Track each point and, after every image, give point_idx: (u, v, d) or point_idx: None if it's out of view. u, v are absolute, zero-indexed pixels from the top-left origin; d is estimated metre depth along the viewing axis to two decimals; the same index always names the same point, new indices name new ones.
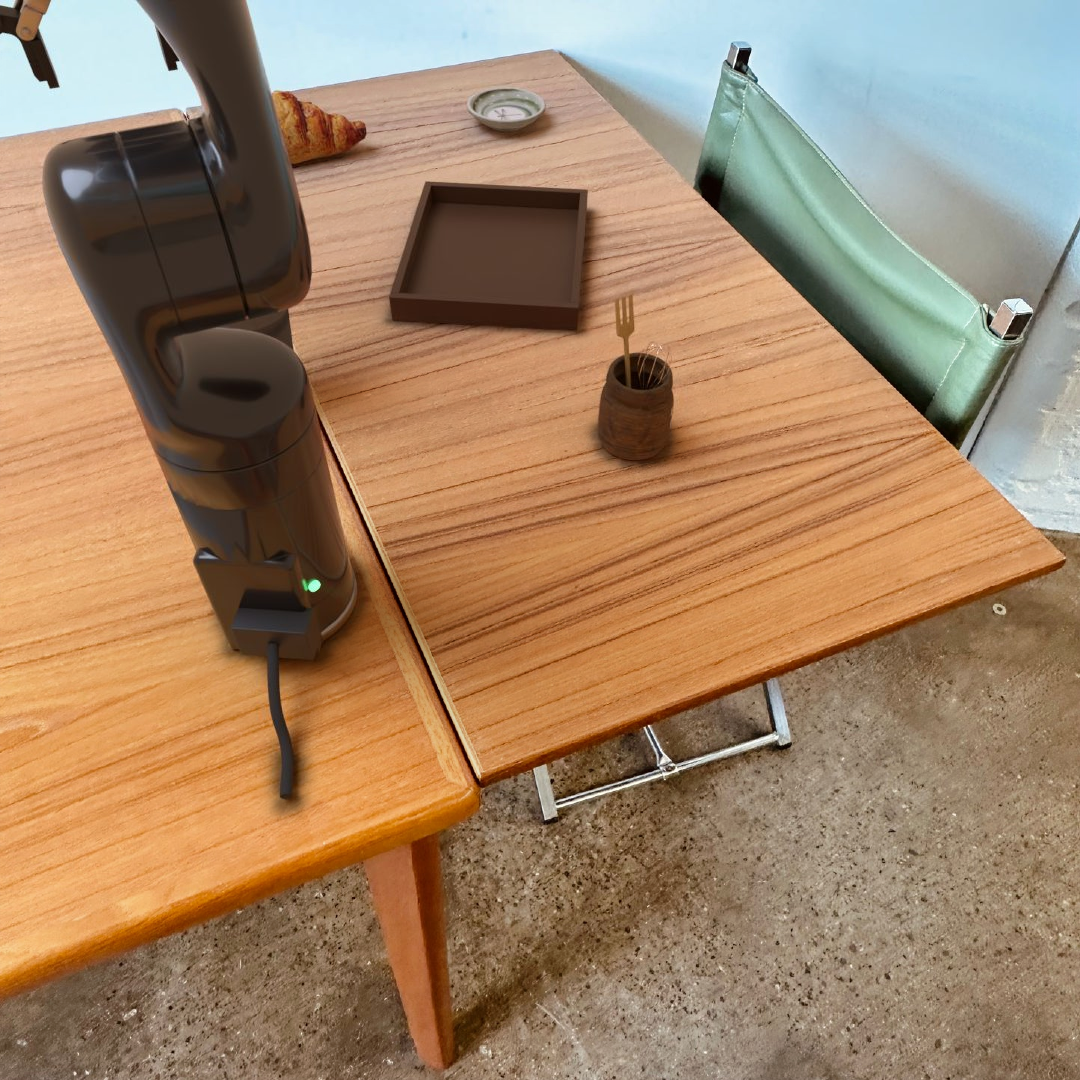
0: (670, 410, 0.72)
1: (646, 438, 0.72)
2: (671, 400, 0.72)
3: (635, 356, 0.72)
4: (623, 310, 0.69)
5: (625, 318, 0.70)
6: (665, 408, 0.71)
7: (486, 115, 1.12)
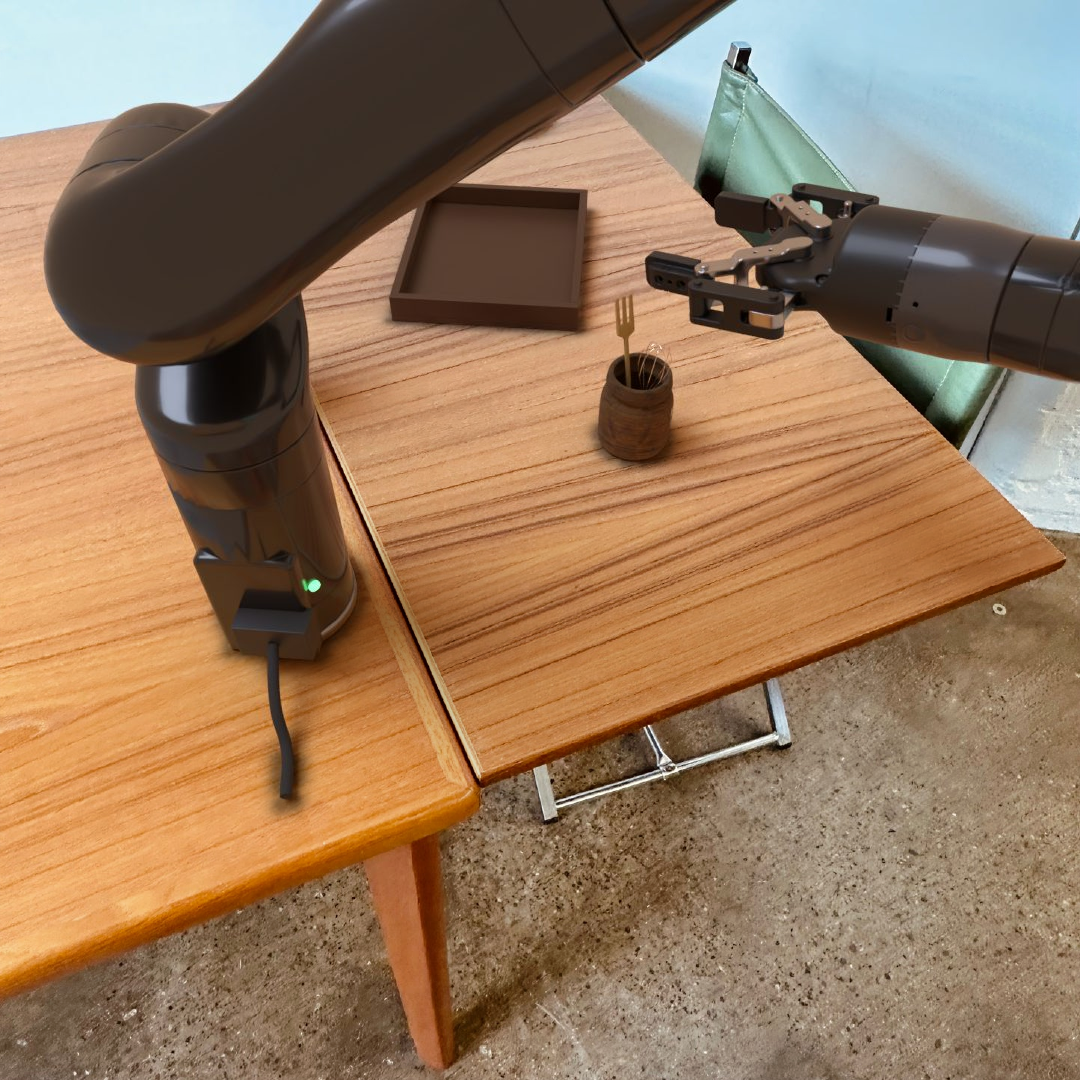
0: (670, 410, 0.72)
1: (646, 438, 0.72)
2: (671, 400, 0.72)
3: (635, 356, 0.72)
4: (623, 310, 0.69)
5: (625, 318, 0.70)
6: (665, 408, 0.71)
7: None
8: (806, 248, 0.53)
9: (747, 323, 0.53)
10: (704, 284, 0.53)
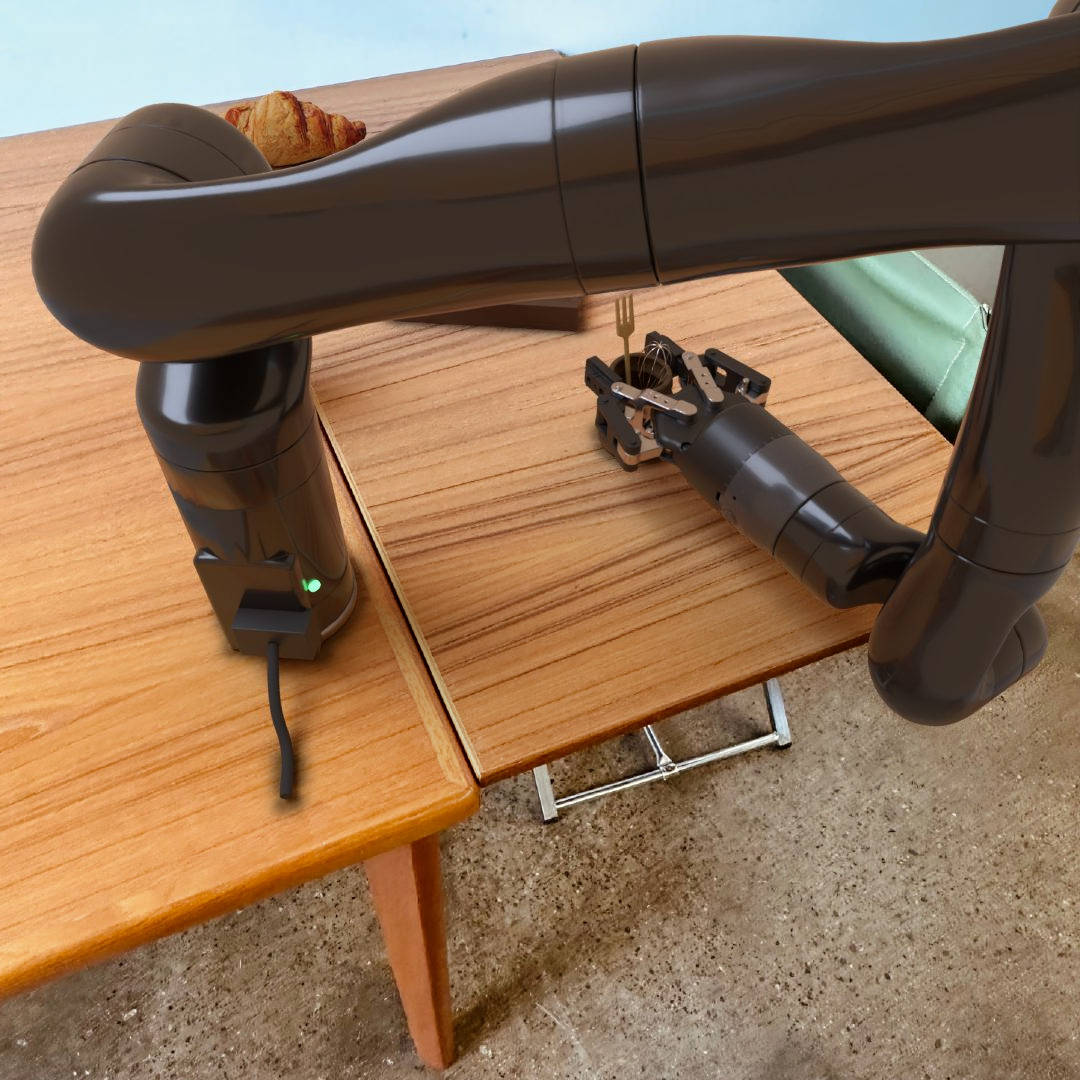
0: None
1: None
2: None
3: (635, 356, 0.72)
4: (623, 310, 0.69)
5: (625, 318, 0.70)
6: None
7: None
8: (686, 415, 0.65)
9: (616, 448, 0.66)
10: (608, 403, 0.66)
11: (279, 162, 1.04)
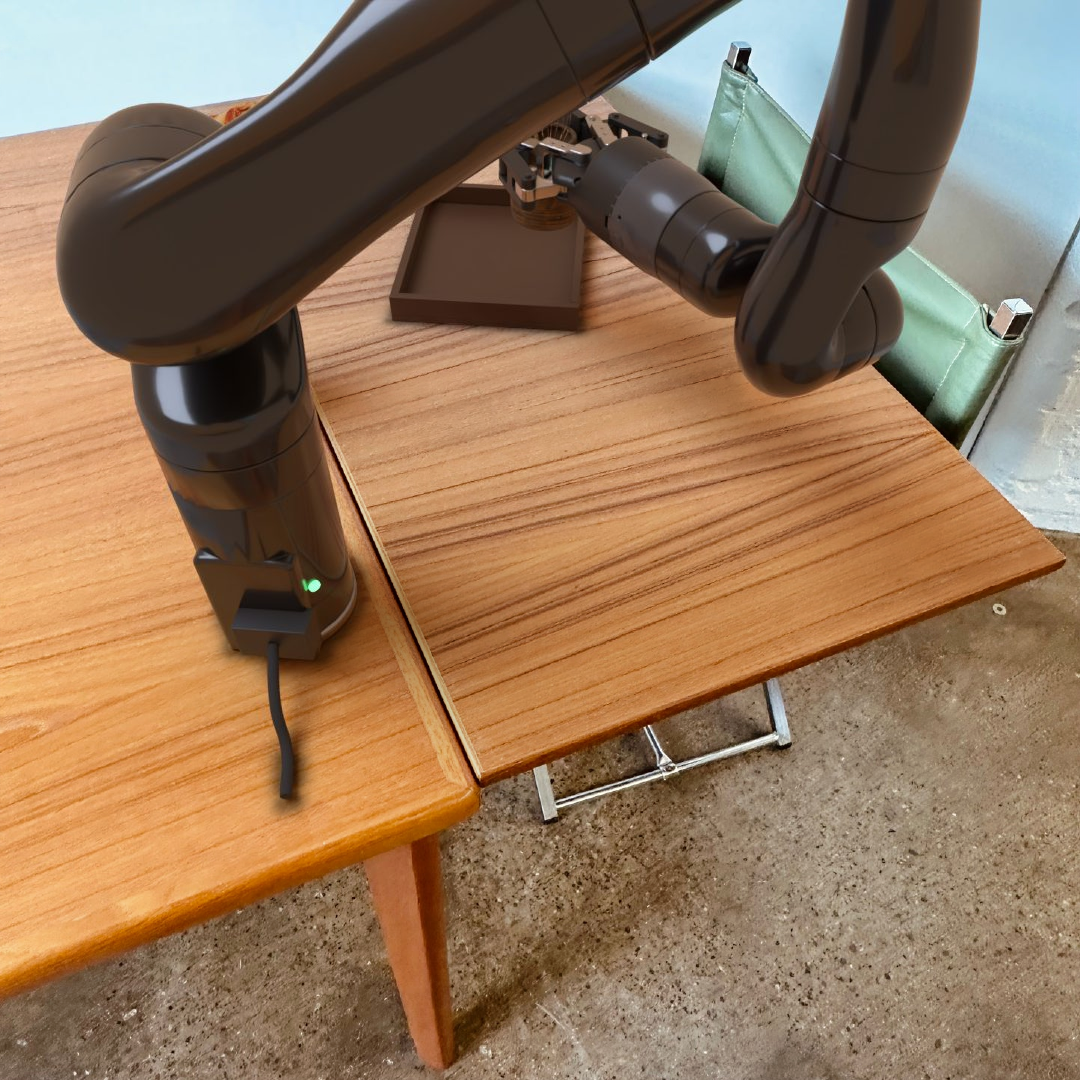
0: None
1: (553, 203, 0.75)
2: None
3: None
4: None
5: None
6: None
7: None
8: (580, 154, 0.67)
9: (515, 190, 0.68)
10: None
11: None
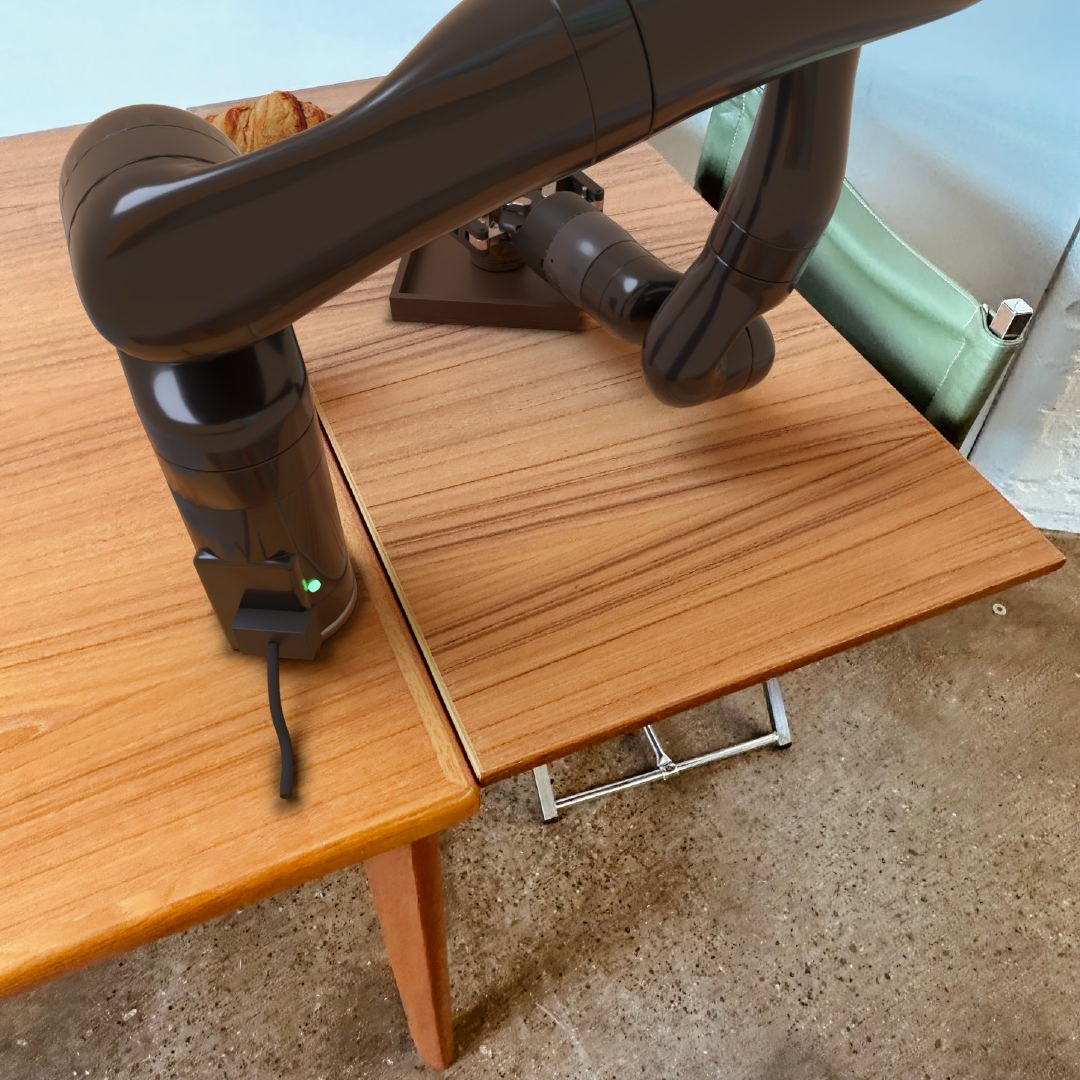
0: None
1: (503, 249, 0.88)
2: None
3: None
4: None
5: None
6: None
7: None
8: (523, 205, 0.80)
9: (468, 241, 0.81)
10: None
11: None
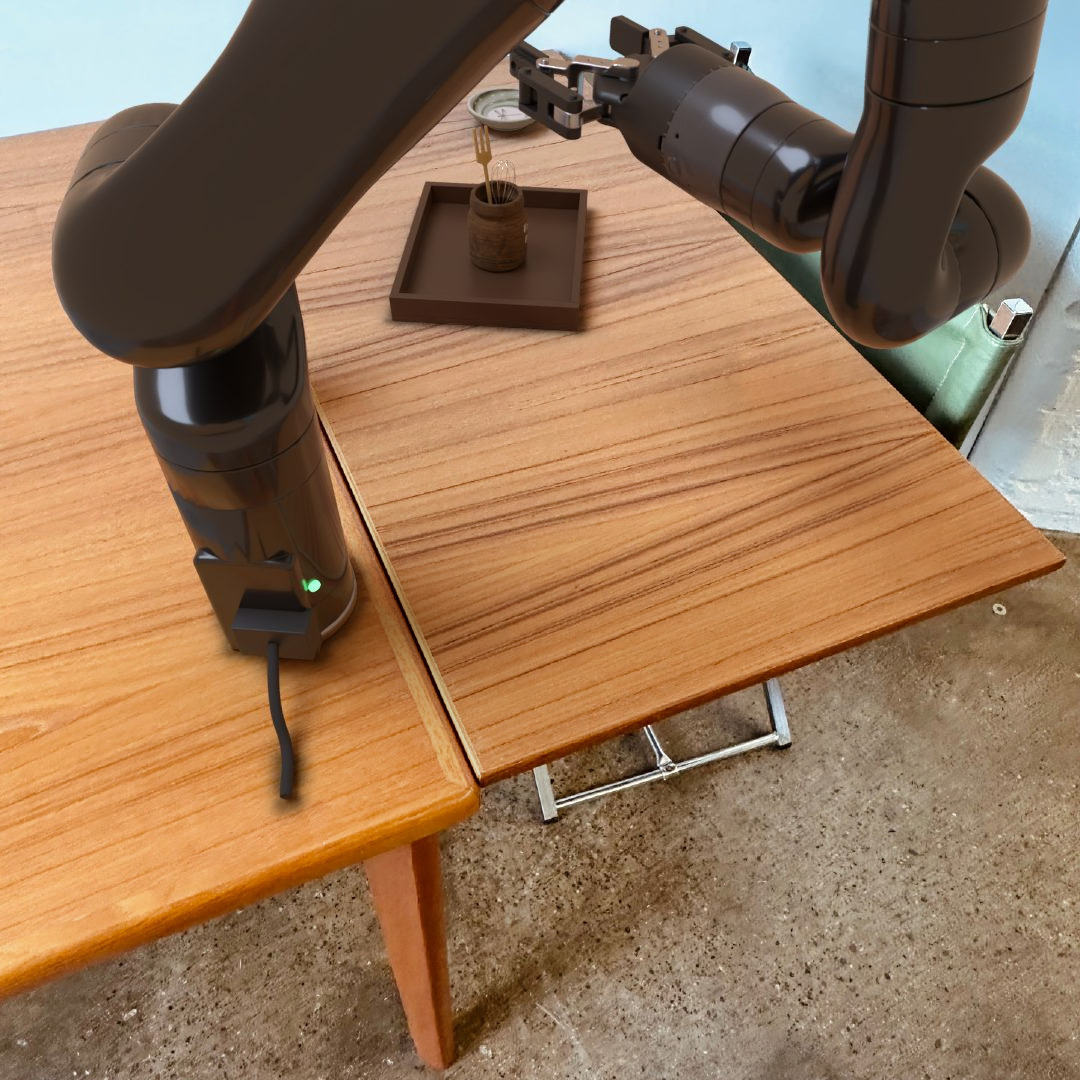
0: (523, 226, 0.88)
1: (503, 249, 0.88)
2: (523, 217, 0.88)
3: (495, 182, 0.88)
4: (480, 139, 0.86)
5: (482, 147, 0.86)
6: (517, 223, 0.87)
7: (486, 115, 1.12)
8: (629, 68, 0.58)
9: (552, 118, 0.58)
10: (532, 72, 0.59)
11: None
